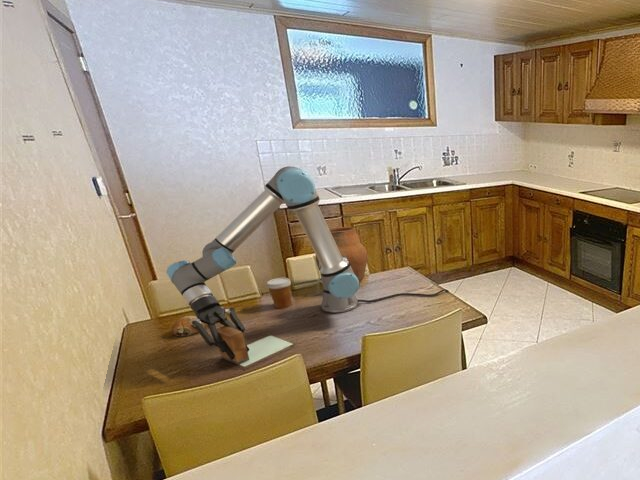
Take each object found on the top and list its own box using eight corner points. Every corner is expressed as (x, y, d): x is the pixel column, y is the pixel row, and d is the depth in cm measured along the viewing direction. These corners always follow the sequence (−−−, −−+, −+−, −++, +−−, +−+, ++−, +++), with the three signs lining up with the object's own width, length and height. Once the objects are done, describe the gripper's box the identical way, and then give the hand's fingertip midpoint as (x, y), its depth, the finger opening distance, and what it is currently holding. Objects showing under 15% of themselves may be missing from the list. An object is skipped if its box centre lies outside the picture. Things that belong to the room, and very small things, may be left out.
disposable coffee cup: (284, 310, 190) (279, 285, 186) (266, 308, 192) (260, 283, 188) (299, 302, 199) (295, 278, 195) (282, 300, 201) (277, 276, 196)
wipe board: (271, 337, 167) (270, 335, 166) (294, 346, 161) (293, 343, 160) (221, 359, 152) (221, 356, 152) (245, 369, 146) (244, 366, 145)
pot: (365, 274, 236) (358, 220, 225) (376, 288, 217) (368, 230, 206) (317, 281, 223) (307, 226, 213) (324, 297, 205) (314, 236, 194)
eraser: (233, 352, 154) (225, 325, 150) (249, 359, 149) (242, 331, 145) (221, 357, 150) (213, 329, 146) (237, 365, 146) (229, 336, 142)
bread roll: (208, 337, 174) (212, 318, 174) (181, 338, 164) (185, 317, 164) (191, 333, 177) (195, 314, 177) (164, 334, 167) (168, 313, 167)
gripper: (225, 298, 157) (262, 348, 156) (171, 315, 143) (210, 371, 142) (230, 287, 153) (268, 339, 152) (175, 304, 139) (215, 361, 138)
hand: (240, 354), depth 147 cm, fingers closed on eraser, 4 cm apart
